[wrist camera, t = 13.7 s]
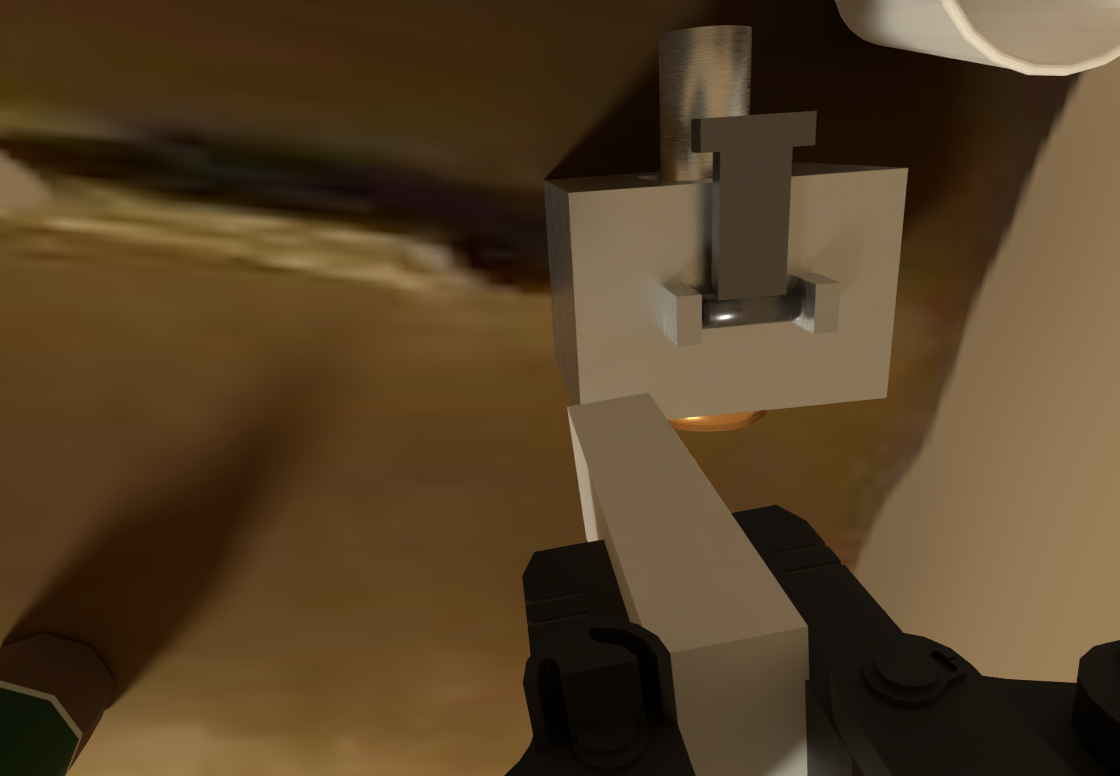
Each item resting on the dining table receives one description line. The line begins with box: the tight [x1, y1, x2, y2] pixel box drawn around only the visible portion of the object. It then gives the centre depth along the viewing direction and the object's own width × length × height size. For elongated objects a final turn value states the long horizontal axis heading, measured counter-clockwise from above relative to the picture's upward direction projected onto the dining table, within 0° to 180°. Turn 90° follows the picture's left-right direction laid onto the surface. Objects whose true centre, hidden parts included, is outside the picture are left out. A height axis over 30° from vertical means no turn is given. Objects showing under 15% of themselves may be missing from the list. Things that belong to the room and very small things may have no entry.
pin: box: [659, 25, 767, 432], centre depth 34 cm, size 18×6×6 cm, turn 4°
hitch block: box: [543, 162, 908, 420], centre depth 34 cm, size 10×14×13 cm
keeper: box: [691, 111, 817, 329], centre depth 28 cm, size 8×4×1 cm, turn 4°
